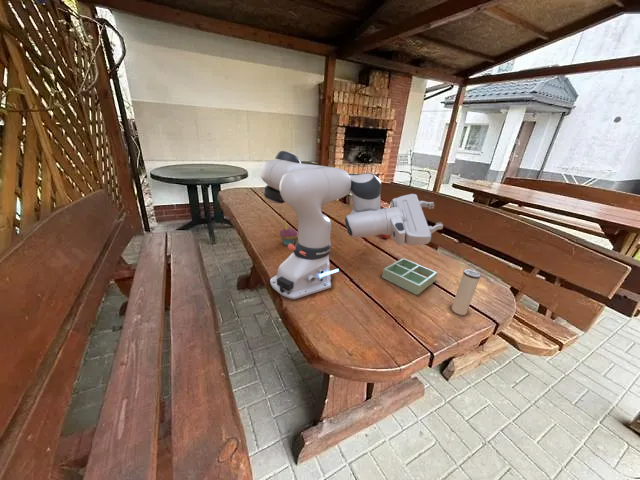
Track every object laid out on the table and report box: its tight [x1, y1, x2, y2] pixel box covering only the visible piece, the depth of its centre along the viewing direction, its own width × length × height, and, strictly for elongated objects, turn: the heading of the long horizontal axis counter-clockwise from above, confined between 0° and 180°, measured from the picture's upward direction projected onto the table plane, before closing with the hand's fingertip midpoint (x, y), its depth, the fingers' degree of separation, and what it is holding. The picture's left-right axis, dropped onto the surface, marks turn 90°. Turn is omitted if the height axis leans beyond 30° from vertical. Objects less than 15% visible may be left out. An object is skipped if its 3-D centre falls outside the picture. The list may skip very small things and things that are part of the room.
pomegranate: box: [379, 234, 392, 239], centre depth 134 cm, size 7×7×10 cm
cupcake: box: [278, 220, 298, 246], centre depth 119 cm, size 9×8×12 cm
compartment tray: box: [381, 257, 438, 296], centre depth 98 cm, size 14×14×4 cm
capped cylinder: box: [451, 268, 482, 316], centre depth 81 cm, size 5×5×14 cm
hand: (437, 214), depth 85 cm, fingers open, 8 cm apart
